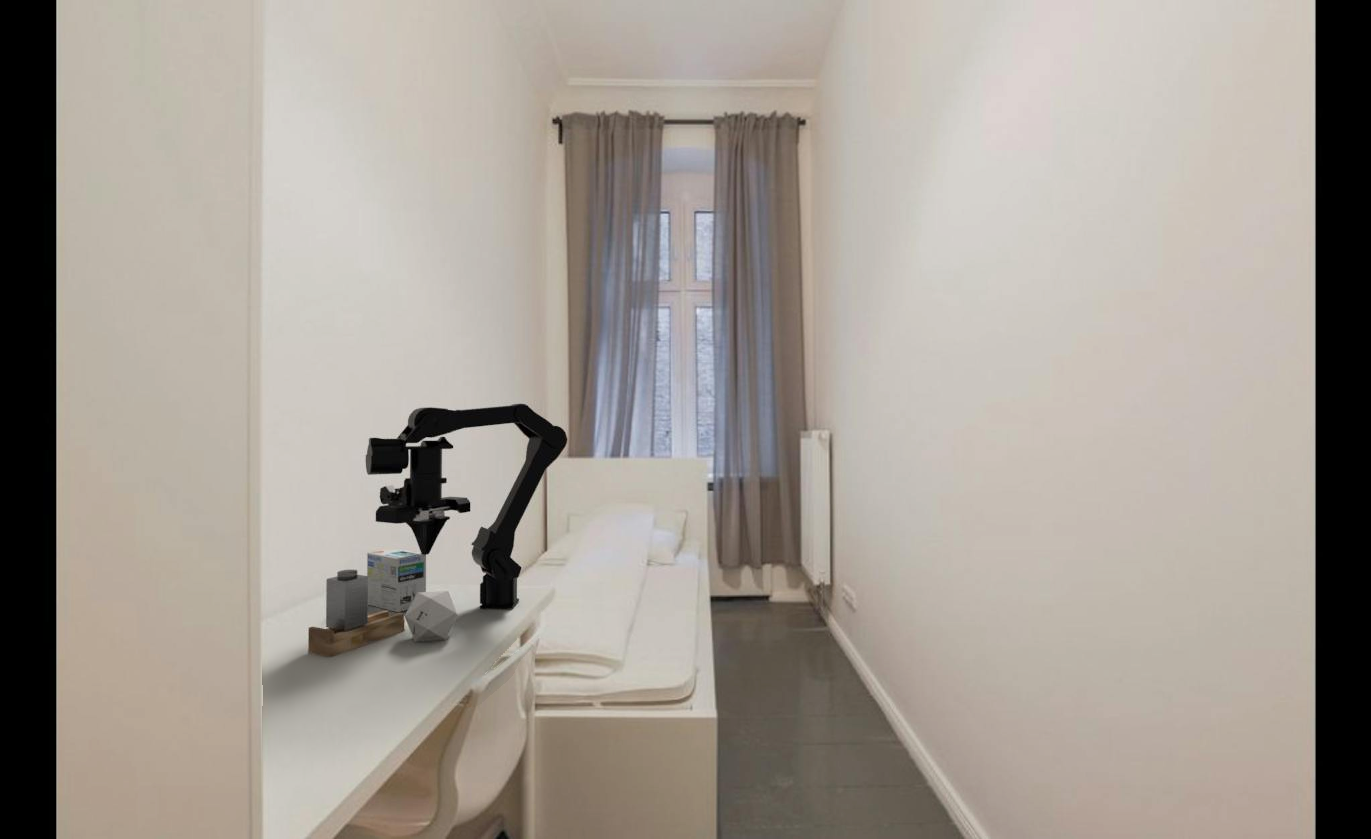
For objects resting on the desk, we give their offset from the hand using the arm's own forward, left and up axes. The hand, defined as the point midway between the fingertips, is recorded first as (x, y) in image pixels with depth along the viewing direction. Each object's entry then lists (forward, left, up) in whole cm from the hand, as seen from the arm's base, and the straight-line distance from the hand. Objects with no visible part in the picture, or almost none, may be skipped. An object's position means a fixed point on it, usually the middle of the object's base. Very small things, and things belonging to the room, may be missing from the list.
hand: (425, 554), depth 128 cm
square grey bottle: (+7, +16, -10) cm, 20 cm away
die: (-6, +12, -12) cm, 18 cm away
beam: (+6, +14, -12) cm, 19 cm away
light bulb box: (+9, -8, -12) cm, 17 cm away
